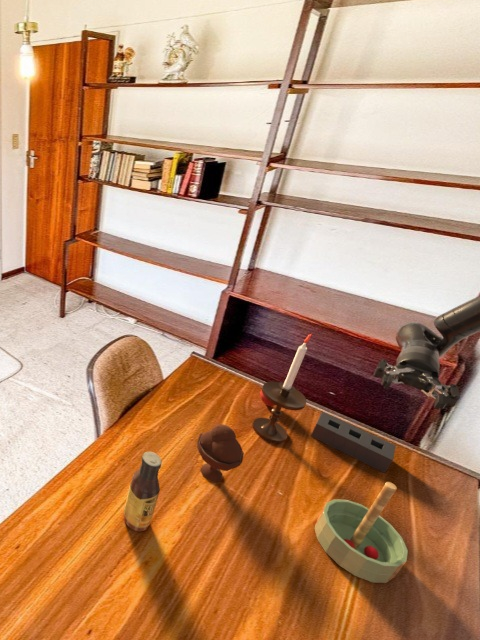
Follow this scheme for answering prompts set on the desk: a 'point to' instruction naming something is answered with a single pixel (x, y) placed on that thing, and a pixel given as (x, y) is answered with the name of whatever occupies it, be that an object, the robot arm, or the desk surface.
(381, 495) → the stirring stick
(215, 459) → the ice cream bowl
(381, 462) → the stand
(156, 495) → the sauce bottle
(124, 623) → the desk surface
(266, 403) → the onion
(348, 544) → the berry
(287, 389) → the candlestick
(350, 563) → the bowl
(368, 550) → the berry
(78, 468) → the desk surface
